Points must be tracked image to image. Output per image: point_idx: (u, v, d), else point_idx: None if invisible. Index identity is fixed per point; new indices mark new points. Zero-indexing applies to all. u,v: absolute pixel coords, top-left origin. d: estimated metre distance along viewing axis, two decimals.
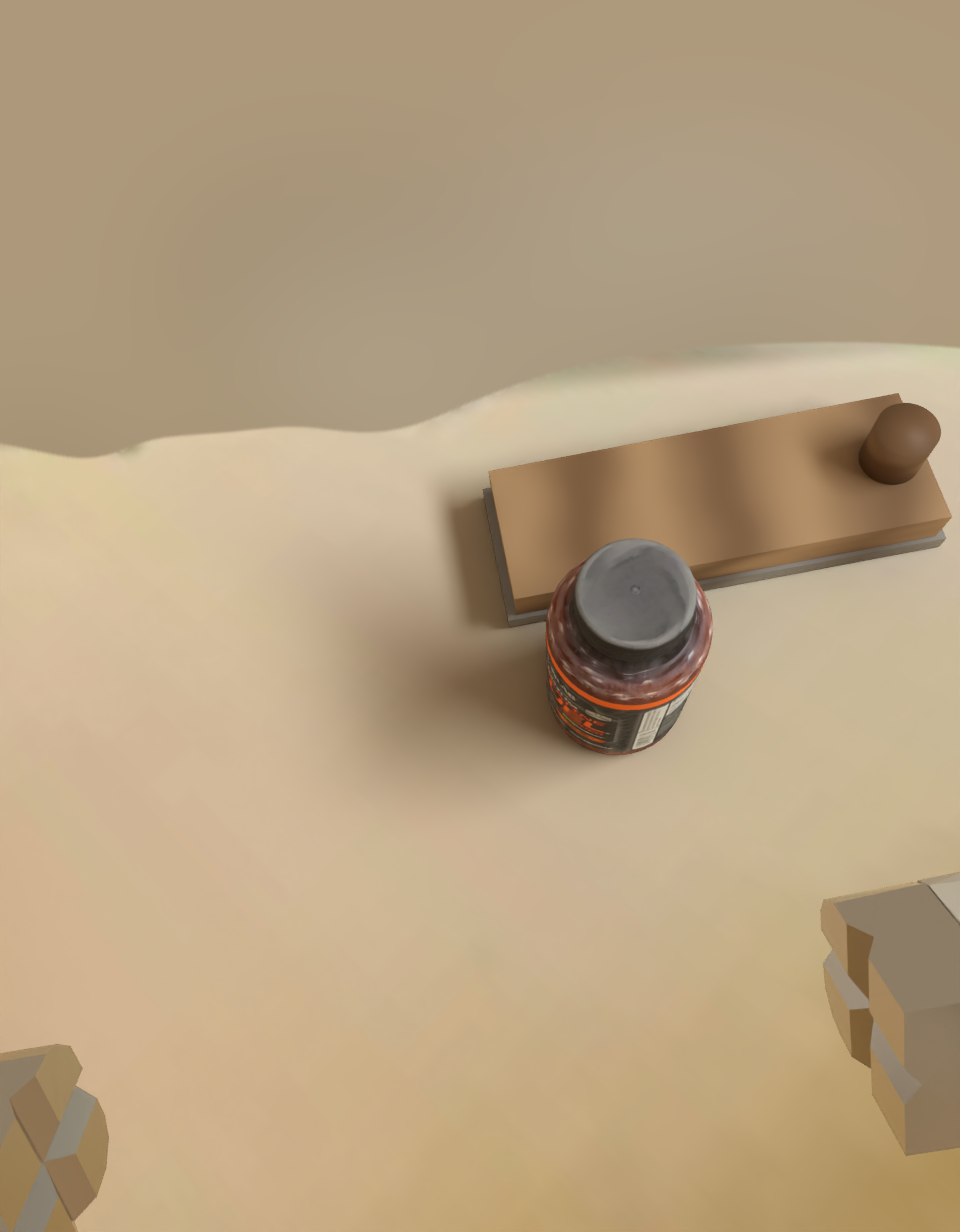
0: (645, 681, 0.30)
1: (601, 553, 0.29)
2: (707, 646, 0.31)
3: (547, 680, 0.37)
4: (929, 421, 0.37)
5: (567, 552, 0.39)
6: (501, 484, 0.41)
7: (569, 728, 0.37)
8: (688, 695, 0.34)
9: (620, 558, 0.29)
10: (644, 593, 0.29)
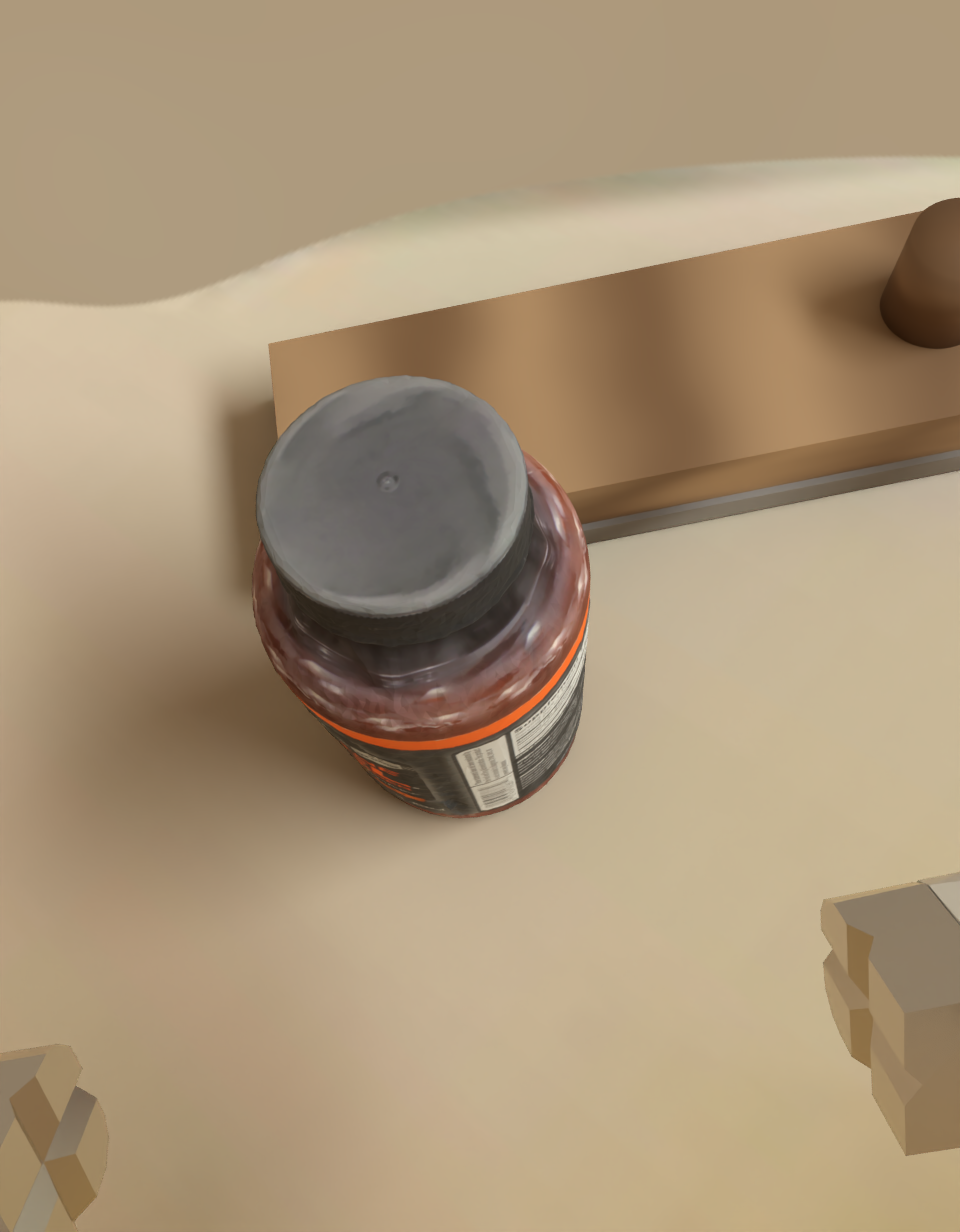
0: (432, 691, 0.14)
1: (322, 407, 0.13)
2: (573, 615, 0.14)
3: None
4: None
5: None
6: (286, 363, 0.25)
7: (369, 774, 0.21)
8: (567, 715, 0.18)
9: (362, 416, 0.13)
10: (407, 489, 0.13)
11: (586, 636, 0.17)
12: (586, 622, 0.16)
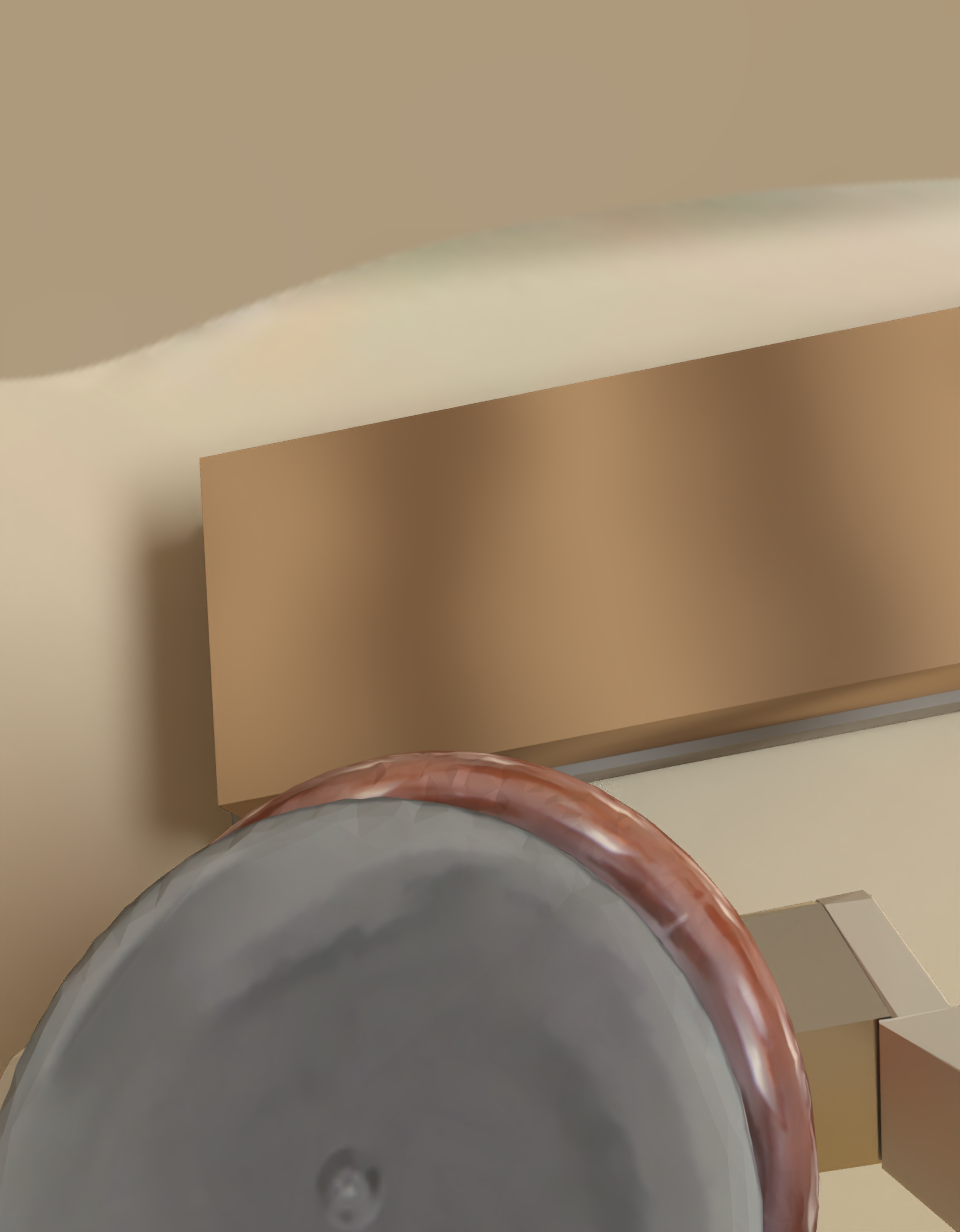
0: None
1: (178, 903, 0.05)
2: None
3: None
4: None
5: (372, 671, 0.15)
6: (225, 490, 0.16)
7: None
8: None
9: (284, 942, 0.05)
10: (408, 1226, 0.04)
11: None
12: None
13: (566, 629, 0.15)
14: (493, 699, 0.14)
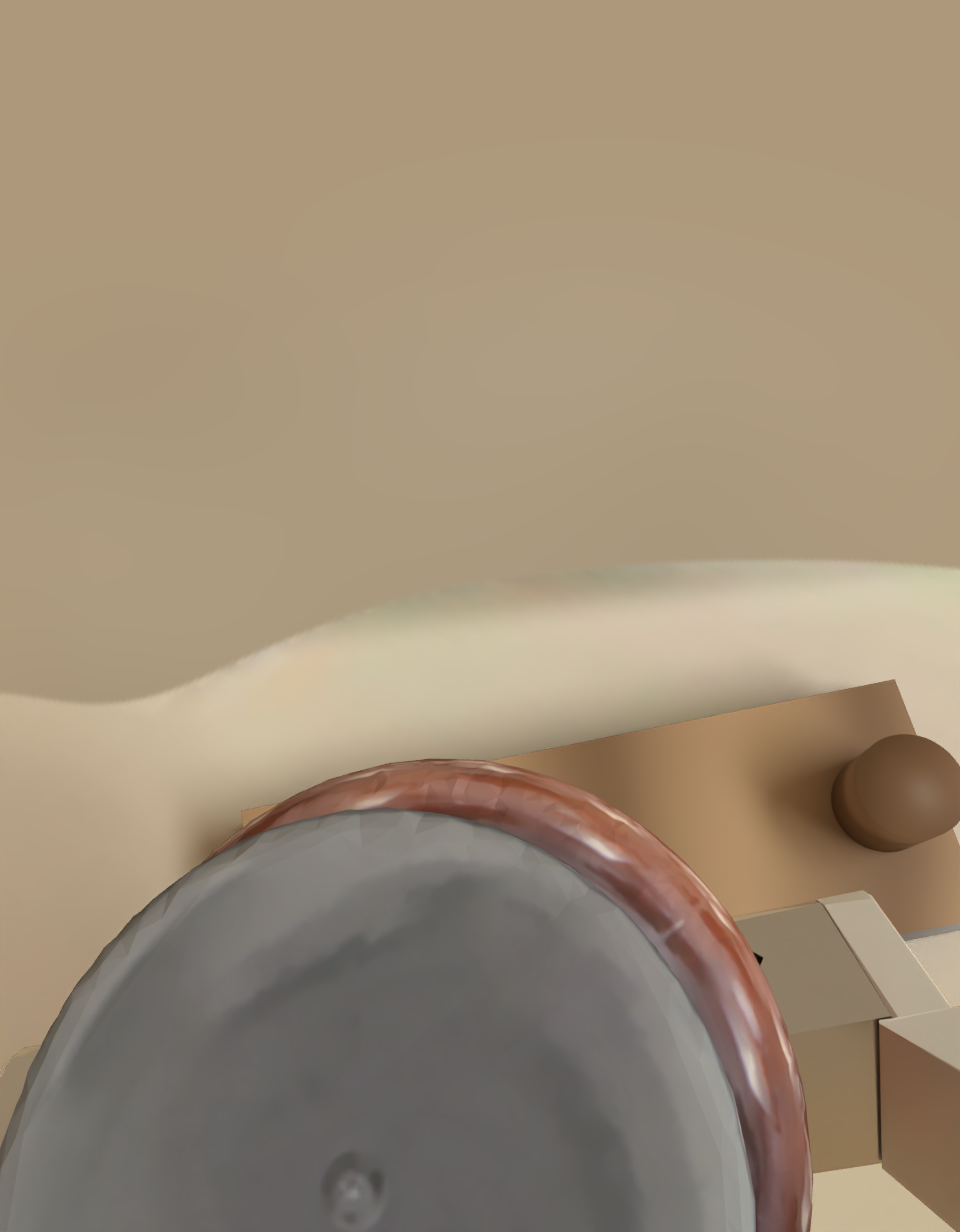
0: None
1: (185, 913, 0.05)
2: None
3: None
4: (947, 771, 0.22)
5: None
6: None
7: None
8: None
9: (289, 950, 0.05)
10: (410, 1227, 0.04)
11: None
12: None
13: None
14: None
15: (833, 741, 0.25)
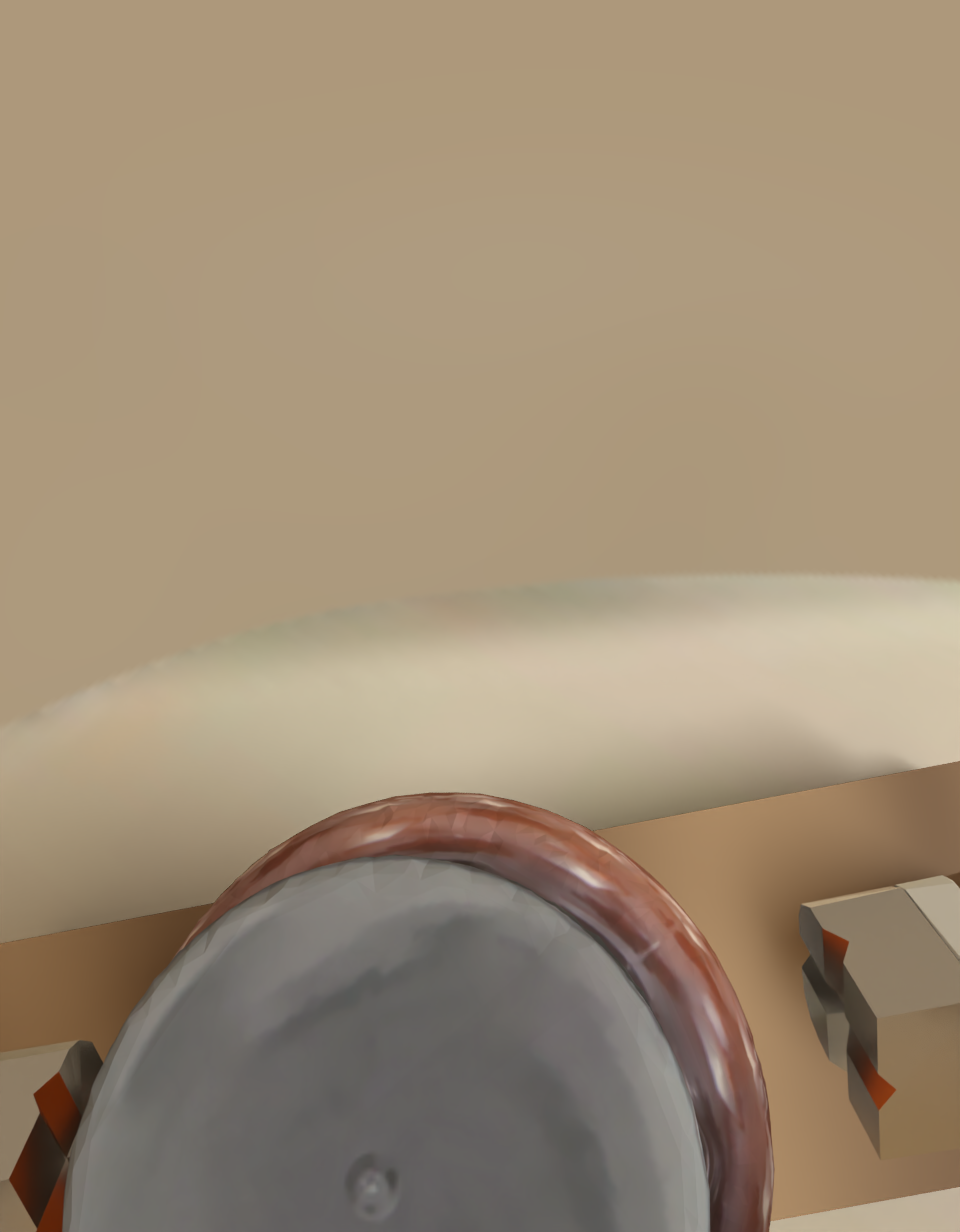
0: None
1: (224, 949, 0.06)
2: None
3: None
4: None
5: None
6: (12, 986, 0.17)
7: None
8: None
9: (314, 981, 0.06)
10: (421, 1217, 0.05)
11: None
12: None
13: None
14: None
15: (879, 855, 0.16)
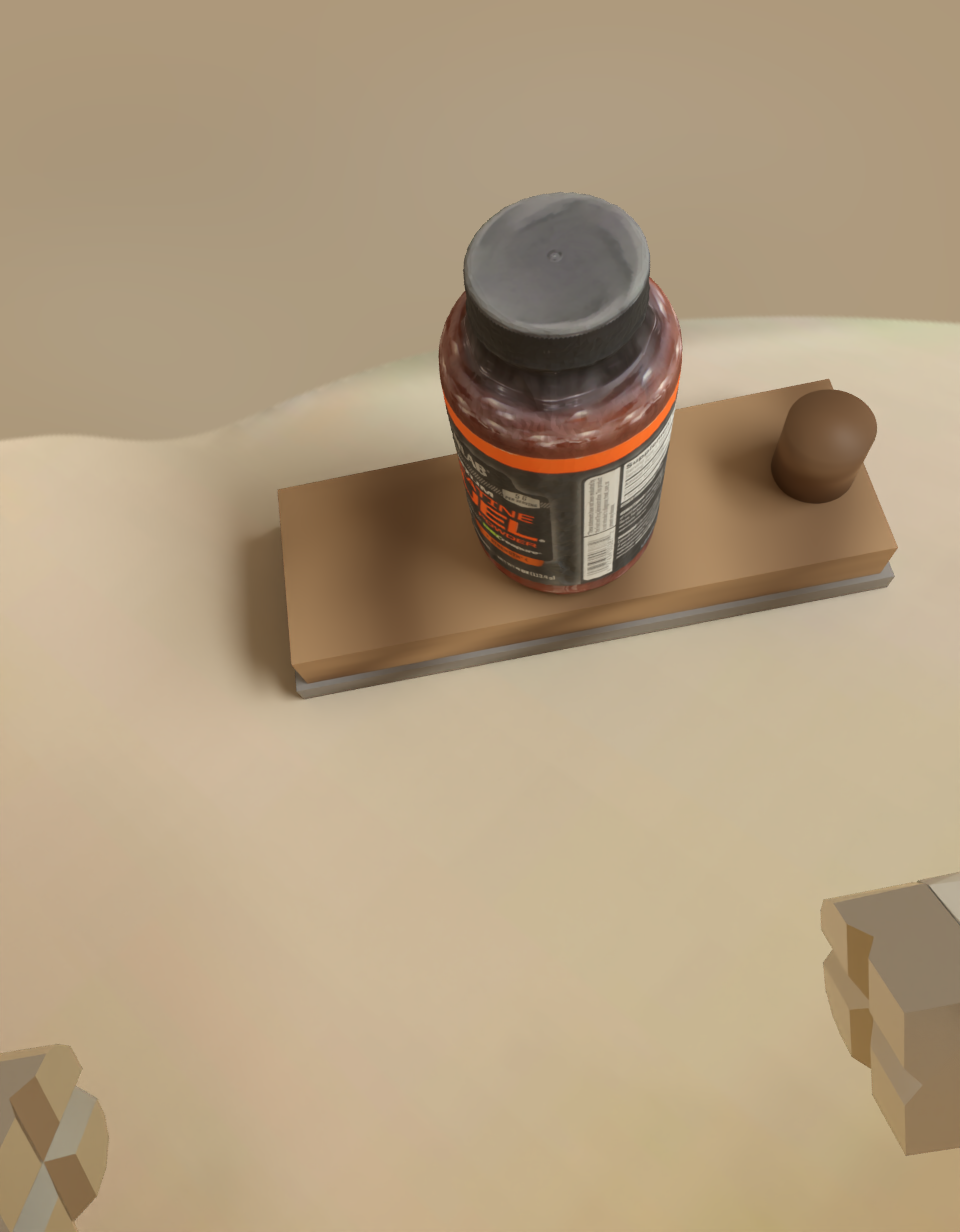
0: (577, 413, 0.20)
1: (505, 212, 0.19)
2: (673, 368, 0.20)
3: None
4: (861, 414, 0.27)
5: (369, 599, 0.29)
6: (292, 507, 0.30)
7: (496, 551, 0.27)
8: (656, 483, 0.24)
9: (533, 217, 0.19)
10: (568, 259, 0.19)
11: None
12: (677, 391, 0.22)
13: (468, 578, 0.29)
14: (429, 612, 0.28)
15: (775, 425, 0.30)
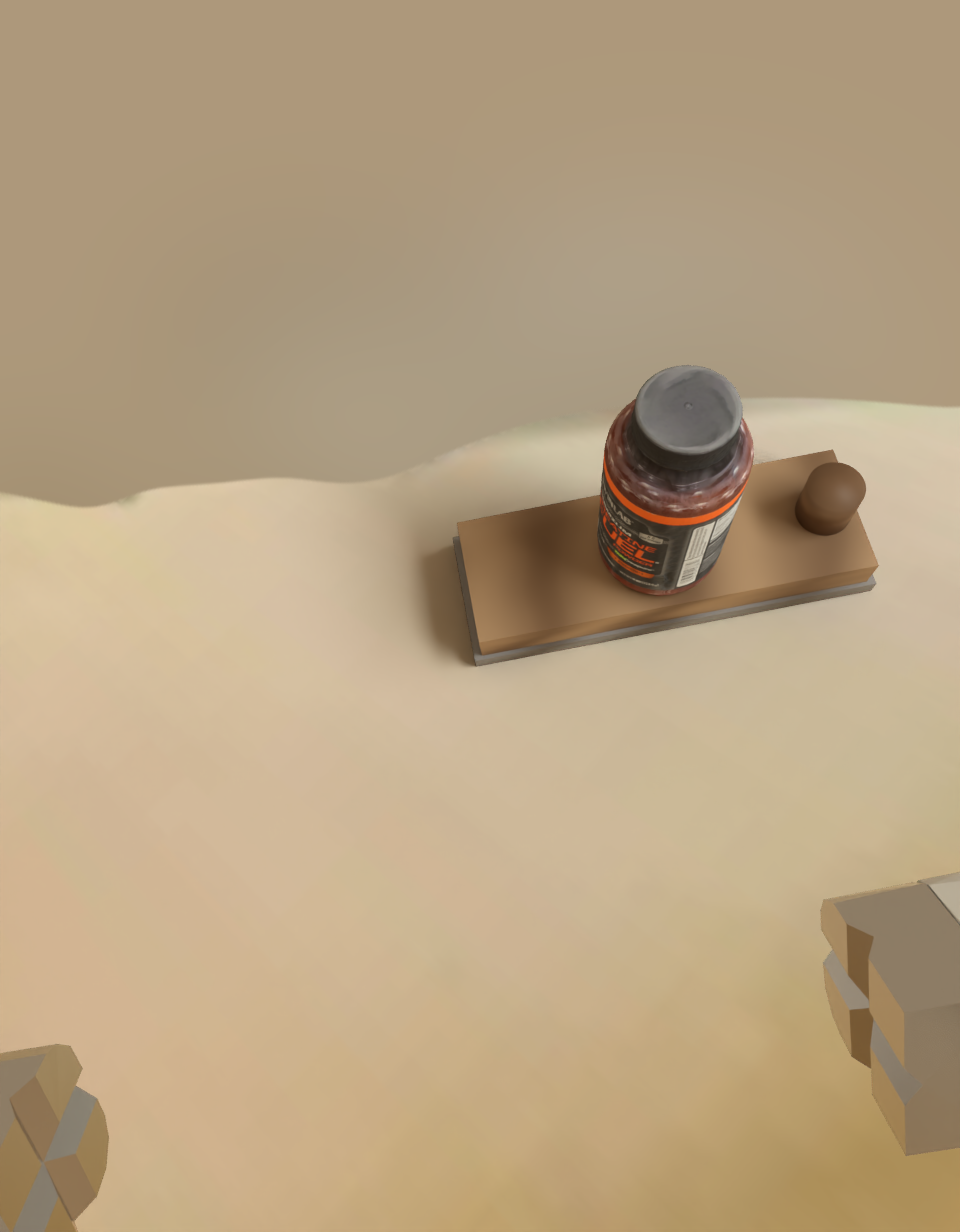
0: (696, 492, 0.34)
1: (657, 377, 0.33)
2: (749, 465, 0.35)
3: (599, 525, 0.41)
4: (855, 479, 0.41)
5: (528, 599, 0.43)
6: (468, 535, 0.44)
7: (619, 568, 0.41)
8: (729, 527, 0.38)
9: (674, 381, 0.33)
10: (696, 408, 0.33)
11: None
12: None
13: (594, 584, 0.43)
14: (570, 607, 0.42)
15: (797, 481, 0.44)
